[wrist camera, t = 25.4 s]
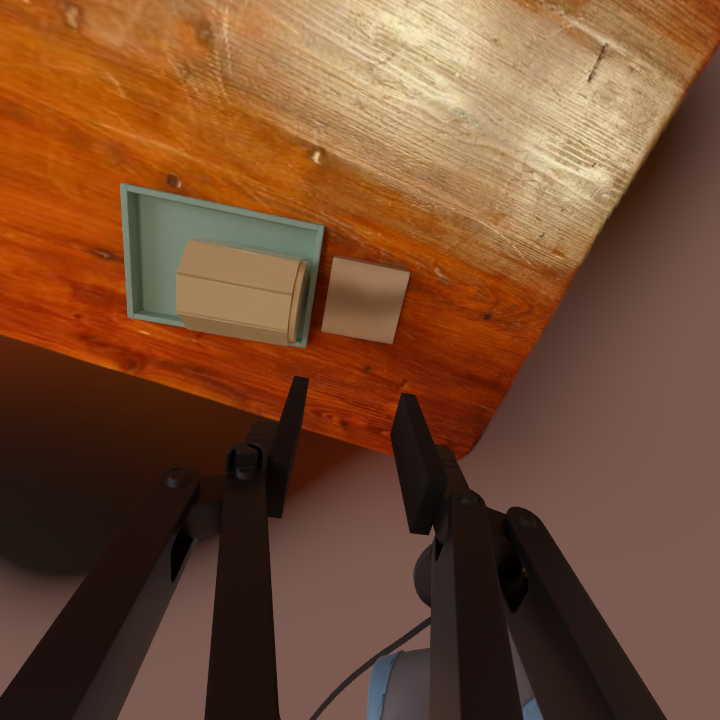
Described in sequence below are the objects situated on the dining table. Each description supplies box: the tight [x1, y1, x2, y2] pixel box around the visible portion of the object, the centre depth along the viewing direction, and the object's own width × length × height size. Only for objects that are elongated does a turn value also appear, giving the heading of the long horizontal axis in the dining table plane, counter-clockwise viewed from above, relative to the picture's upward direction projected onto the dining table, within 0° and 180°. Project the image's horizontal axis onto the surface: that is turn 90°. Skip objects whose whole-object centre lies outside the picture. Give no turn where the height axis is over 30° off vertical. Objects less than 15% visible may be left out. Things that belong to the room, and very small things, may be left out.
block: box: [321, 254, 410, 344], centre depth 38 cm, size 8×8×3 cm
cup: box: [176, 238, 309, 346], centre depth 34 cm, size 8×8×10 cm
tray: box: [120, 183, 325, 348], centre depth 37 cm, size 19×13×2 cm
